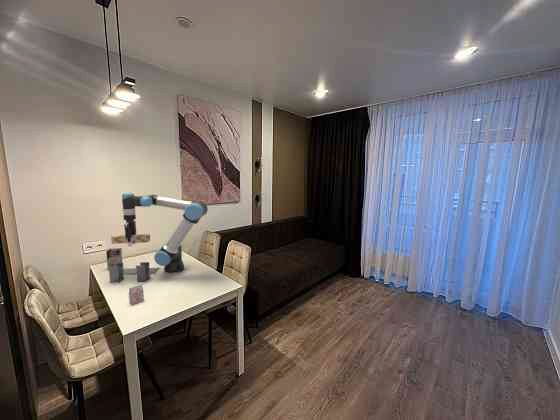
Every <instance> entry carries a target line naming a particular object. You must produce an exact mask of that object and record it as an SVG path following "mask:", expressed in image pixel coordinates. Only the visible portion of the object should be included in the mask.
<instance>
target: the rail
mask: <svg viewBox="0 0 560 420" xmlns="http://www.w3.org/2000/svg"><path fill="white" fill-rule="evenodd" d="M131 237H132V243H136V244H139V243H140V244H141V243H143V244H144V243H145V244H146V243H150V241H151V234H150V233H149V234H148V233H146V234H136V235H131ZM110 240H111V241H110V242H111V244H113V245H115V244H128V242H127V238H125V234H114V235H113V236H111V237H110Z"/></svg>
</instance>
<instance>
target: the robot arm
mask: <svg viewBox="0 0 560 420" xmlns="http://www.w3.org/2000/svg"><path fill="white" fill-rule="evenodd" d="M121 203H122V212H123V220H124V221H125V224H124V226H123V227H124V235H125V238H127V242H128V243H127V247H133V245H136V244H137V243H132V237H131V235H137V227H136V226H137V225H136V223H137V221H136V220H137V215H136V207H142V208H143V207H144V208H146V207H148V208H149V207H151V206H158V207H164V208H171V209H175V210H182V211H183V212H184V213H183V214H182V217H183V218H182V220H181V221H180V223H179V224H178V226H177V227H176V229H175V231H174V232H173V234H172V235H171V236H170V237H169V239H168V241H167V242H166V243H164V244H163V245H162V246H161V248H160V249H159V251H156V252H155V254H154V257H153V259H154V261H155V264H156V265H158V266H160V267H161V266H162V267H164V269H163V270H164V271H163V272H164V273H165V274H177V273H180V272H183V271H184V270H185V264H184V262H183V253H182V252H183V251H182V250H183V249H182V246H183V245H182V243H183V241H184V240H185V239H186V237H187V235H188V234H189V232H190V231H191V230H192V228H193V227H194V225H196V224H198V223H199V221H200V220H201V218H203V217H204V216H206V215H207V212H208V205H207V203H205V202H204V201H198V200H191V201H188V200H183V199H182V200H181V199H177V198H171V197H165V196H159V195H157V194H149V195H142V196H141V195H139V196H136V195H135V193H133V192H129V193H127V192H126V193H122V194H121Z"/></svg>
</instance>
